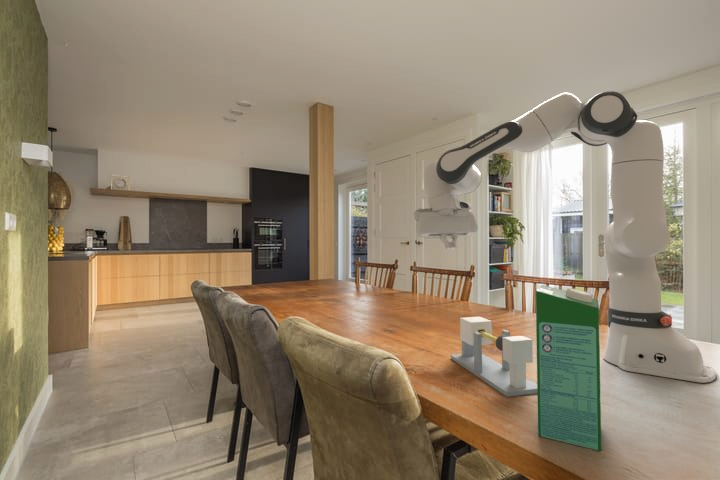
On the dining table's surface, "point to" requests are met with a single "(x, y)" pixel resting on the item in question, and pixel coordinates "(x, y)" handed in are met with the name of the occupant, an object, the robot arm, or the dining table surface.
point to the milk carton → (568, 366)
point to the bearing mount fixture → (499, 376)
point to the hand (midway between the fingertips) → (451, 248)
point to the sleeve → (474, 329)
